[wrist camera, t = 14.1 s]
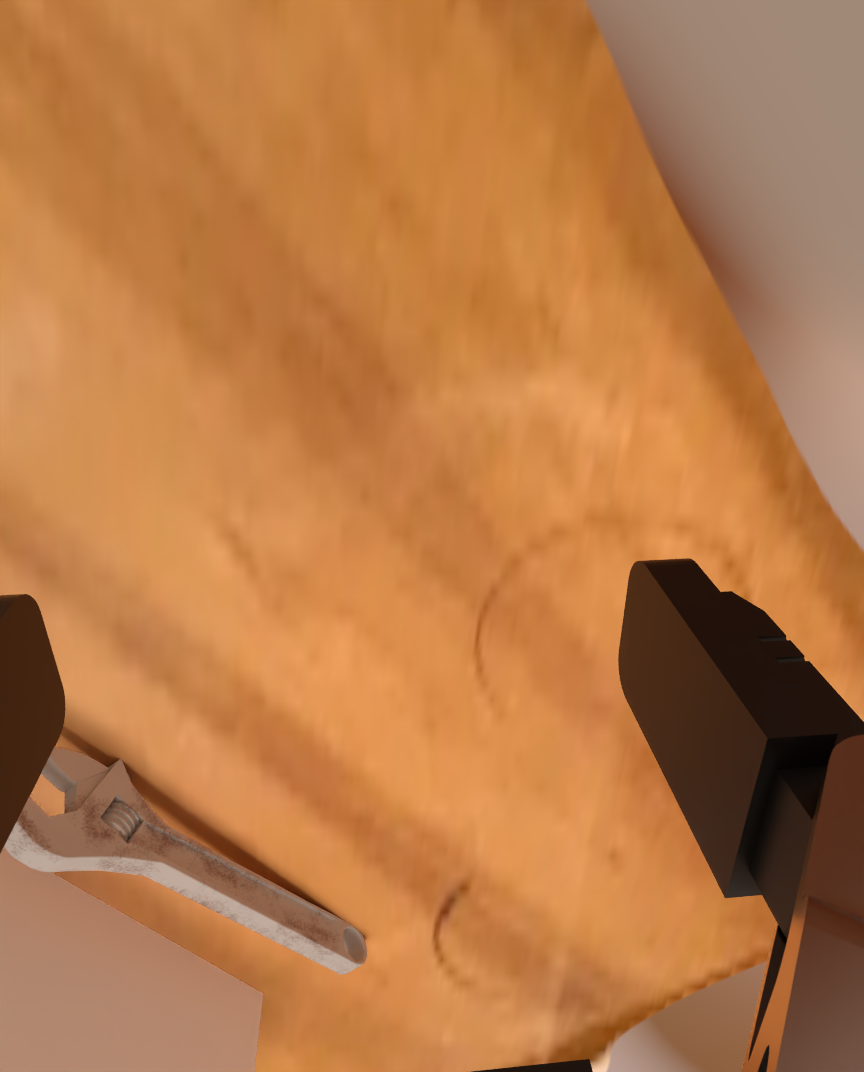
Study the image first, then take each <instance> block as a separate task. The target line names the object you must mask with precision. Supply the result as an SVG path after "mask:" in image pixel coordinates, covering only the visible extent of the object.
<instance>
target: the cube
mask: <svg viewBox="0 0 864 1072" xmlns="http://www.w3.org/2000/svg"><path fill="white" fill-rule="evenodd" d="M262 1002H263V993H261V992H260V991H258V990H256V989H254V988H253V987H251V986H249V985H247V984H246V983H244V982H242V981H240V980H239V979H237V978H235V977H233V976H232V975H230V974H228V973H226V972H225V971H223V970H221V969H219V968H218V967H216V966H214V965H212V964H211V963H209V962H207V961H205V960H204V959H202V958H200V957H198V956H197V955H195V954H193V953H191V952H190V951H188V950H186V949H184V948H183V947H181V946H179V945H177V944H176V943H174V942H172V941H170V940H169V939H167V938H165V937H163V936H162V935H160V934H158V933H156V932H155V931H153V930H151V929H149V928H148V927H146V926H144V925H142V924H141V923H139V922H137V921H135V920H134V919H132V918H130V917H129V916H127V915H125V914H123V913H122V912H120V911H118V910H116V909H115V908H113V907H111V906H109V905H108V904H106V903H104V902H102V901H101V900H99V899H97V898H95V897H94V896H92V895H90V894H88V893H87V892H85V891H83V890H81V889H80V888H78V887H76V886H74V885H73V884H71V883H69V882H67V881H66V880H64V879H62V878H60V877H59V876H57V875H55V874H53V873H52V872H42V871H39V870H36V869H32V868H30V867H28V866H27V865H25V864H23V863H22V862H20V861H18V860H17V859H15V858H13V857H12V856H11V855H10V854H9V852H8V851H7V850H6V848H5V847H3V849H2V851H1V853H0V1072H254V1071H255V1063H256V1054H257V1045H258V1037H259V1028H260V1020H261V1011H262Z"/></svg>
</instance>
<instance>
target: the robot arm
mask: <svg viewBox="0 0 864 1072" xmlns="http://www.w3.org/2000/svg"><path fill="white" fill-rule="evenodd" d="M618 661H619V675H620V681H621V685H622V689H623V692H624V695H625V698H626V700H627V702H628V704H629V706H630V708H631V710H632V712H633V714H634V716H635V718H636V720H637V722H638V724H639V726H640V728H641V730H642V732H643V734H644V736H645V738H646V740H647V742H648V744H649V746H650V748H651V750H652V752H653V754H654V756H655V758H656V760H657V762H658V764H659V766H660V768H661V770H662V772H663V774H664V776H665V778H666V780H667V782H668V784H669V786H670V788H671V790H672V792H673V794H674V796H675V798H676V800H677V802H678V804H679V806H680V808H681V810H682V812H683V814H684V816H685V818H686V820H687V822H688V824H689V826H690V828H691V830H692V832H693V834H694V836H695V838H696V840H697V842H698V844H699V846H700V849H701V851H702V853H703V855H704V857H705V859H706V861H707V863H708V865H709V867H710V869H711V871H712V873H713V875H714V877H715V879H716V881H717V883H718V885H719V887H720V889H721V891H722V893H723V895H724V897H725V898H732V897H743V896H754V895H762V896H763V897H764V899H765V901H766V903H767V905H768V906H769V908H770V910H771V912H772V914H773V916H774V917H775V919H776V921H777V923H776V926H775V929H774V933H773V936H772V941H771V945H770V949H769V954H768V958H767V962H766V967H765V971H764V976H763V980H762V985H761V989H760V993H759V998H758V1002H757V1006H756V1011H755V1015H754V1019H753V1024H752V1028H751V1033H750V1037H749V1041H748V1046H747V1050H746V1054H745V1059H744V1063H743V1068H742V1072H864V722H863V721H862V720H861V719H860V717H859V716H858V715H857V714H856V713H855V712H854V711H853V710H852V709H851V707H850V706H849V705H848V704H847V703H846V702H845V701H844V700H843V698H842V697H841V696H840V695H839V694H838V693H837V692H836V691H835V690H834V688H833V687H832V686H831V685H830V684H829V683H828V682H827V681H826V679H825V678H824V677H823V676H822V675H821V674H820V673H819V672H818V671H817V669H816V668H815V667H814V666H813V665H812V664H811V663H810V662H809V661H805V660H804V655H803V654H802V653H801V652H800V650H799V649H798V648H797V647H796V646H795V645H794V644H793V643H792V642H791V640H788V641H787V640H786V635H785V634H784V633H783V631H782V630H781V629H780V628H779V627H778V626H777V625H776V624H775V623H774V621H773V620H772V619H771V618H770V617H769V616H768V615H767V614H766V612H765V611H763V610H762V609H760V608H758V607H757V606H755V605H753V604H752V603H750V602H748V601H747V600H745V599H743V598H742V597H740V596H738V595H737V594H735V593H733V592H732V591H729V592H720V591H719V590H718V588H717V587H716V586H715V585H714V584H713V582H712V581H711V580H710V579H709V578H708V576H707V575H706V574H705V573H704V572H703V570H702V569H701V568H700V567H699V566H698V564H697V563H696V562H695V561H694V560H692V559H688V558H687V559H668V560H649V561H637V562H635V563H634V565H633V566H632V568H631V571H630V575H629V581H628V588H627V595H626V603H625V610H624V618H623V625H622V632H621V640H620V647H619V660H618ZM64 717H65V695H64V690H63V685H62V682H61V679H60V675H59V672H58V669H57V665H56V662H55V659H54V655H53V652H52V648H51V645H50V642H49V638H48V635H47V632H46V628H45V625H44V621H43V618H42V615H41V612H40V609H39V606H38V604H37V602H36V601H35V600H34V598H32V597H31V596H30V595H26V594H21V595H1V596H0V853H1V851H2V849H3V847H4V846H5V844H6V842H7V840H8V838H9V836H10V834H11V832H12V830H13V828H14V826H15V824H16V822H17V820H18V818H19V816H20V814H21V812H22V810H23V808H24V806H25V804H26V802H27V800H28V798H29V796H30V794H31V792H32V790H33V788H34V786H35V784H36V782H37V780H38V778H39V776H40V774H41V772H42V771H43V769H44V767H45V765H46V763H47V761H48V759H49V757H50V755H51V753H52V751H53V749H54V747H55V745H56V743H57V741H58V739H59V737H60V734H61V731H62V728H63V724H64ZM473 1072H593V1071H592V1067H591V1064H590V1060H589V1059H586V1060H577V1061H567V1062H558V1063H549V1064H539V1065H530V1066H520V1067H511V1068H501V1069H492V1070H482V1071H473Z"/></svg>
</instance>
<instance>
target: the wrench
mask: <svg viewBox="0 0 864 1072" xmlns="http://www.w3.org/2000/svg"><path fill="white" fill-rule="evenodd" d="M41 773H42V774H43V776H44V777H45V778H46V779H48V780H49V781H50V782H51V783H52V784H53V785H54V786H55V787H56V788H57V789H58V790H60V791H62V792H65V814H61V815H56V816H52V817H49V816H48V815H47V814H46V813H45V812H44V811H43V810H42V809H41V808H40V807H39V806H38V805H37V804H36V803H35V802H34V801H33V800H32V798H31V797H30V796H29V798H28V800H27V802H26V804H25V806H24V808H23V810H22V812H21V814H20V816H19V818H18V820H17V822H16V824H15V826H14V828H13V830H12V832H11V834H10V836H9V838H8V840H7V842H6V844H5V846H4V847H5V848H6V850H7V851H8V852H9V854H10V855H11V856H12V857H13V858H15V859H17V860H18V861H20V862H22V863H23V864H25V865H27V866H28V867H30V868H32V869H36V870H39V871H42V872H61V871H96V870H100V871H108V872H117V873H125V874H134V875H142V876H146V877H148V878H150V879H152V880H154V881H156V882H158V883H160V884H162V885H164V886H166V887H168V888H170V889H172V890H174V891H176V892H177V893H179V894H181V895H183V896H185V897H187V898H189V899H191V900H193V901H195V902H197V903H199V904H201V905H203V906H205V907H207V908H209V909H211V910H213V911H215V912H217V913H219V914H221V915H223V916H225V917H227V918H229V919H231V920H233V921H235V922H237V923H239V924H241V925H243V926H245V927H247V928H249V929H251V930H253V931H255V932H257V933H259V934H261V935H263V936H265V937H267V938H269V939H271V940H273V941H275V942H277V943H279V944H281V945H283V946H285V947H287V948H289V949H291V950H293V951H295V952H297V953H299V954H301V955H303V956H305V957H307V958H309V959H311V960H313V961H315V962H317V963H319V964H321V965H323V966H325V967H327V968H329V969H331V970H333V971H335V972H336V973H339V974H342V975H343V974H347V973H349V972H350V971H352V970H354V969H356V968H357V967H359V966H361V965H363V964H364V963H365V961H366V957H367V947H366V943H365V939H364V937H363V935H362V934H361V932H360V931H358V930H357V929H355V928H354V927H353V926H351V925H350V924H348V923H347V922H346V921H344V920H342V919H340V918H339V917H337V916H335V915H333V914H331V913H329V912H327V911H325V910H323V909H321V908H319V907H317V906H315V905H314V904H312V903H310V902H308V901H306V900H304V899H302V898H300V897H298V896H297V895H295V894H293V893H291V892H289V891H287V890H286V889H284V888H282V887H280V886H278V885H276V884H275V883H273V882H271V881H269V880H267V879H265V878H263V877H262V876H260V875H258V874H256V873H254V872H252V871H250V870H248V869H246V868H245V867H243V866H241V865H239V864H237V863H235V862H233V861H231V860H230V859H228V858H226V857H224V856H222V855H220V854H218V853H216V852H214V851H213V850H211V849H209V848H207V847H205V846H203V845H201V844H200V843H198V842H196V841H194V840H193V839H191V838H189V837H187V836H186V835H184V834H182V833H180V832H179V831H177V830H175V829H173V828H172V827H170V826H168V825H167V824H166V823H165V822H164V821H163V820H162V819H161V818H160V817H159V816H158V815H157V814H156V813H155V812H154V811H153V810H152V809H151V808H150V807H149V805H148V804H147V803H146V802H145V800H144V799H143V798H142V796H141V795H140V794H139V792H138V791H137V790H136V788H135V787H134V786H133V784H132V783H131V782H130V776H129V775H128V773H127V772H126V769H125V766H124V764H123V761H122V760H121V759H119V760H118V761H116V762H115V763H114V764H112V765H111V766H109V767H106V766H105V765H103V764H101V763H100V762H98V761H96V760H94V759H92V758H90V757H89V756H87V755H85V754H83V753H79V752H76V751H72V750H69V749H65V748H59V747H54V749H53V751H52V753H51V755H50V757H49V759H48V761H47V763H46V765H45V767H44V769H43V771H42V772H41ZM345 948H346V949H345ZM346 950H347V951H346Z"/></svg>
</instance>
